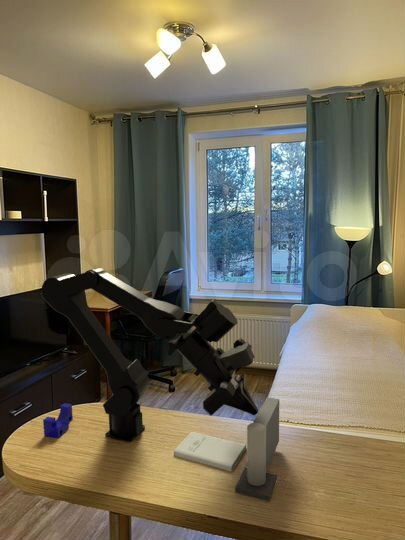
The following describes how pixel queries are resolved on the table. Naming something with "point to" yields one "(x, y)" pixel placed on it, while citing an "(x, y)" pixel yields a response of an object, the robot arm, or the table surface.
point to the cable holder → (58, 422)
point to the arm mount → (256, 491)
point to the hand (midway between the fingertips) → (256, 413)
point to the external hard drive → (210, 450)
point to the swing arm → (262, 441)
